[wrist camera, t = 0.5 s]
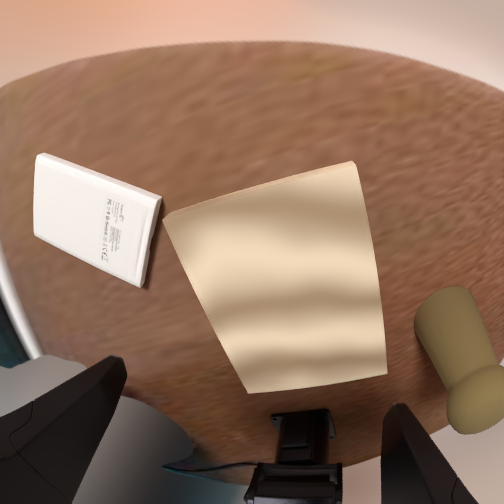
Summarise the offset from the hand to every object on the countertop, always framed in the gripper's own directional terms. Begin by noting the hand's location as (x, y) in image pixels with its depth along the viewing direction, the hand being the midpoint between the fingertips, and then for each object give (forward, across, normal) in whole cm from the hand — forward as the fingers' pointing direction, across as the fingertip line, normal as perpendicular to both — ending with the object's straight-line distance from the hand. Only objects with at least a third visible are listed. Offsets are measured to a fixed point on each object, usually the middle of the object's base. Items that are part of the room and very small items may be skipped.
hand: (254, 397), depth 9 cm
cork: (+14, -15, +6) cm, 21 cm away
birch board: (+14, -1, +6) cm, 15 cm away
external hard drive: (+14, +16, +1) cm, 22 cm away
